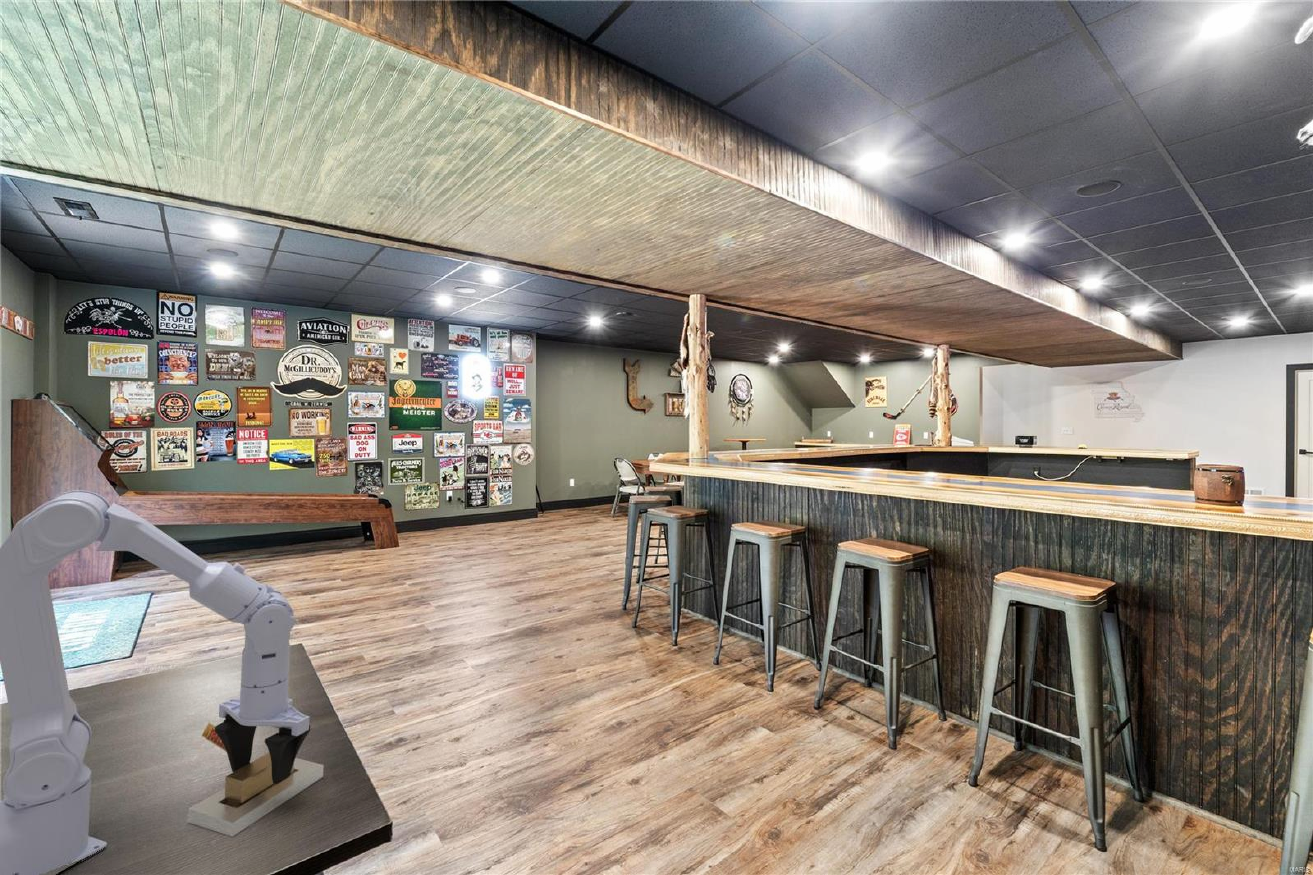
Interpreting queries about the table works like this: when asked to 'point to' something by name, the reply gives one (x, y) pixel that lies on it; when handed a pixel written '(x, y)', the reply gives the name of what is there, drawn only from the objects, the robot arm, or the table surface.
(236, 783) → the stepped wooden block
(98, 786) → the table surface
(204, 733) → the chocolate bar
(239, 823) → the white slotted holder
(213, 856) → the table surface
